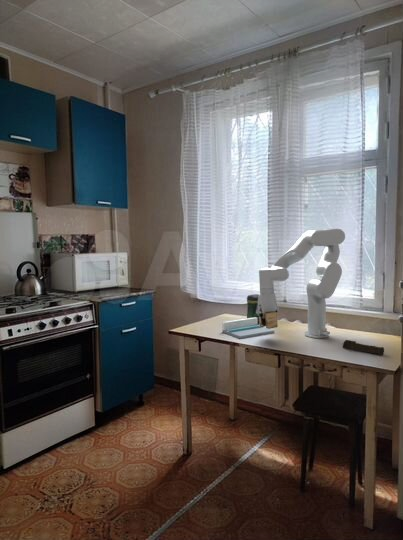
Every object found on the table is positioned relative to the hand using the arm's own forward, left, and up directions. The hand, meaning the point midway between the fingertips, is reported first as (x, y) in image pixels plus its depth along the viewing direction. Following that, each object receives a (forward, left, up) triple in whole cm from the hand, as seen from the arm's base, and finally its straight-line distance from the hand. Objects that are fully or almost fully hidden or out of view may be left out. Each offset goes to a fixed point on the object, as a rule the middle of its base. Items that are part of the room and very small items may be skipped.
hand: (268, 323), depth 210 cm
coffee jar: (+35, -17, -9) cm, 40 cm away
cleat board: (+17, +1, -8) cm, 19 cm away
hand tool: (-42, -23, -9) cm, 49 cm away
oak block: (0, 0, -2) cm, 2 cm away
